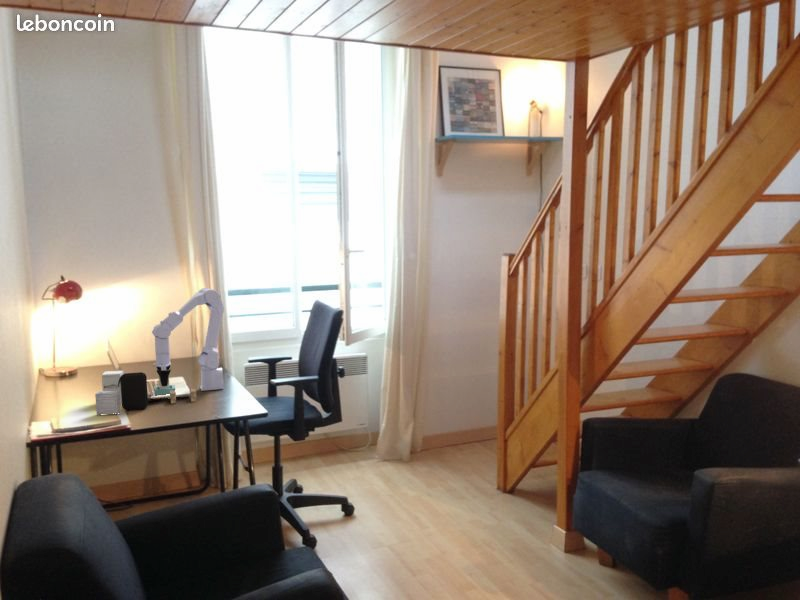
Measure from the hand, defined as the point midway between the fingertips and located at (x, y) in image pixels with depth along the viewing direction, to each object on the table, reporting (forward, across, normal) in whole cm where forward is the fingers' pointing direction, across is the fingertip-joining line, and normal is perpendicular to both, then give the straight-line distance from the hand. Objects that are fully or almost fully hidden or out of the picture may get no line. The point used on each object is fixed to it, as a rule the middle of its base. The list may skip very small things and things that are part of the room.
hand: (164, 384), depth 309 cm
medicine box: (+5, +24, -21) cm, 32 cm away
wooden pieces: (+5, +13, +7) cm, 16 cm away
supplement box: (+5, +4, -20) cm, 21 cm away
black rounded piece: (+5, +21, -12) cm, 25 cm away
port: (+5, 0, 0) cm, 5 cm away
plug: (+4, 0, 0) cm, 4 cm away
